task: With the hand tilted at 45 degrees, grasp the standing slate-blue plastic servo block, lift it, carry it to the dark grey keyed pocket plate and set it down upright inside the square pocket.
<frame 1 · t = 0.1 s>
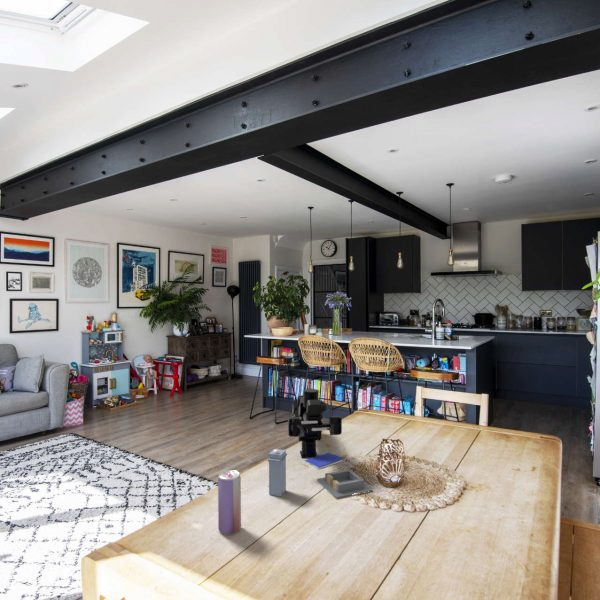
hand: (318, 434, 144), 17 cm above the table, tool horizontal, fingers open, 9 cm apart
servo: (277, 492, 138), on the table
beverage can: (229, 530, 116), on the table
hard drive: (323, 463, 163), on the table
chassis: (344, 485, 142), on the table
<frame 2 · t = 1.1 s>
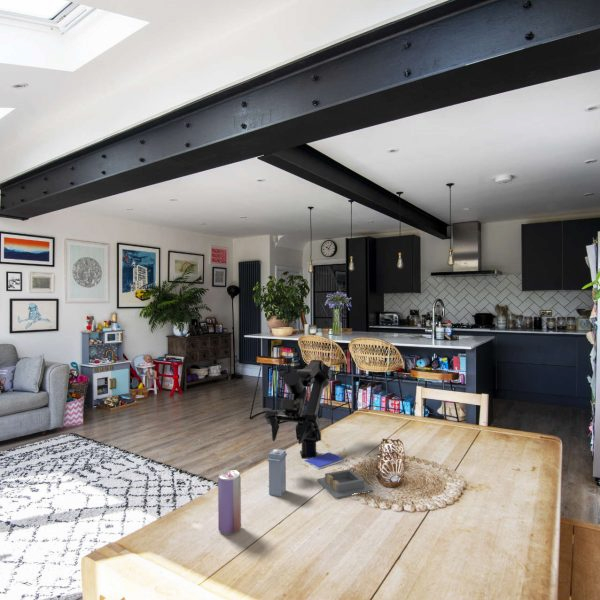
hand: (286, 442, 145), 13 cm above the table, tool tilted 45°, fingers open, 9 cm apart
nothing on the table moved.
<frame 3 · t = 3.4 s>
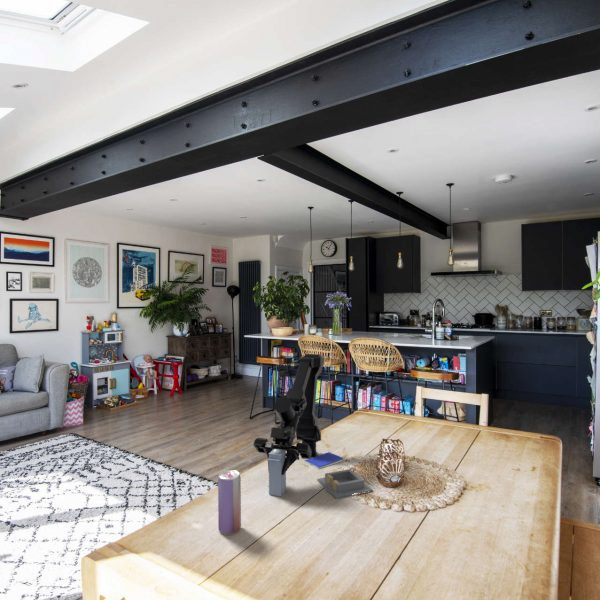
hand: (275, 473, 136), 7 cm above the table, tool tilted 45°, fingers closed on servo, 4 cm apart
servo: (277, 492, 138), on the table, touching gripper
everything else where it was.
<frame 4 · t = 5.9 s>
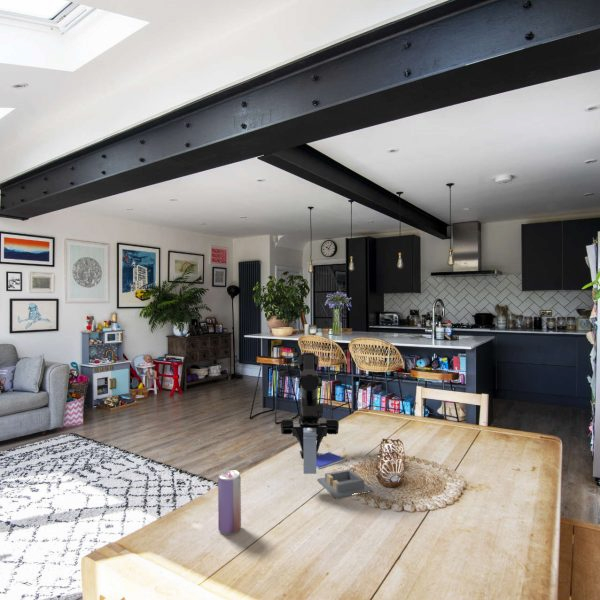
hand: (309, 451, 136), 13 cm above the table, tool tilted 45°, fingers closed on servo, 4 cm apart
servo: (309, 470, 138), point 7 cm above the table, touching gripper
everything else where it was.
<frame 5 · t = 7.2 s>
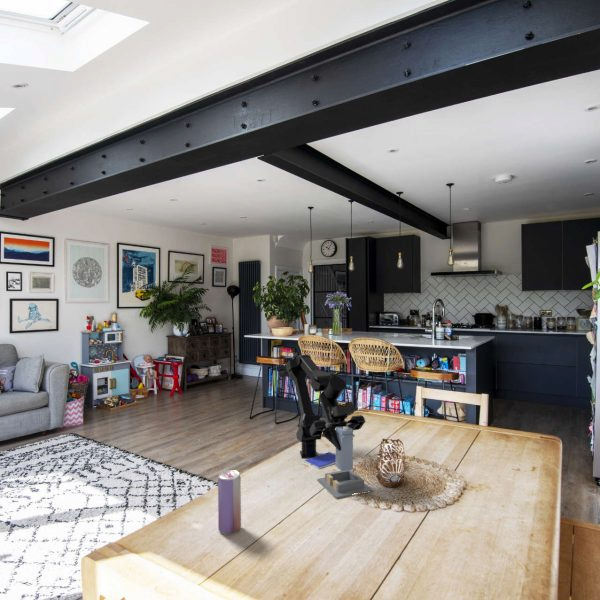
hand: (346, 449, 141), 13 cm above the table, tool tilted 45°, fingers closed on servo, 4 cm apart
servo: (344, 467, 142), point 6 cm above the table, touching gripper
everything else where it was.
when the fingers open (8 cm above the table, at t = 8.4 s): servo stays where it is, resting on chassis.
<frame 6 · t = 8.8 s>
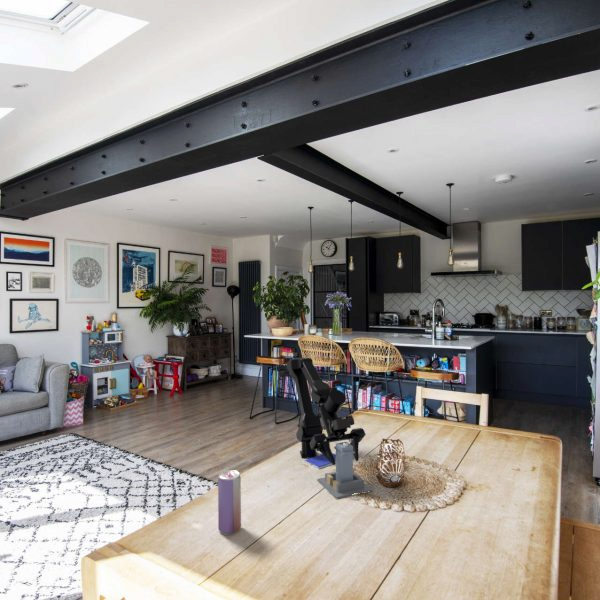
hand: (346, 462, 141), 8 cm above the table, tool tilted 45°, fingers open, 8 cm apart
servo: (344, 484, 142), point 1 cm above the table, touching chassis
everything else where it was.
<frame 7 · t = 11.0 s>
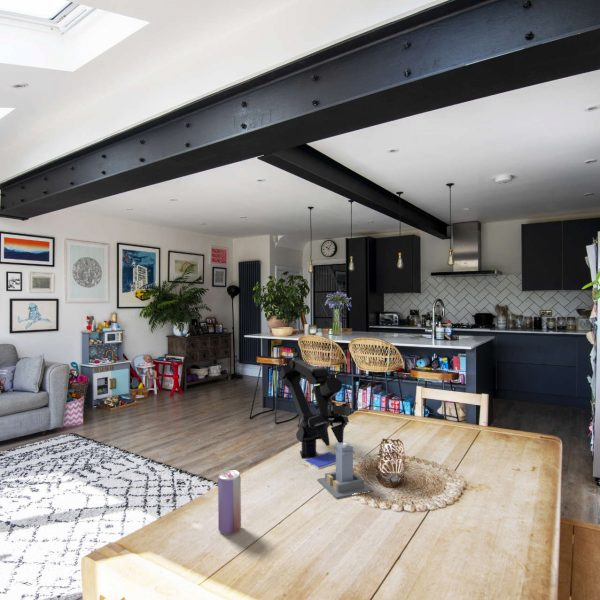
hand: (335, 445, 151), 10 cm above the table, tool tilted 30°, fingers open, 9 cm apart
nothing on the table moved.
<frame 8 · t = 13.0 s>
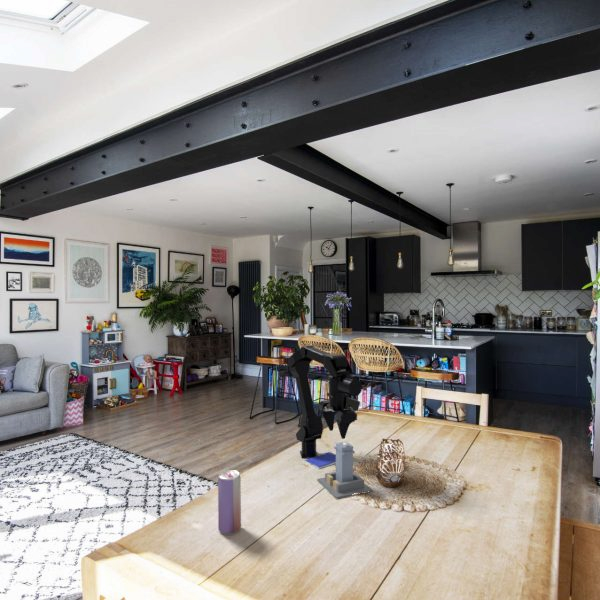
hand: (337, 434, 154), 13 cm above the table, tool pointing down, fingers open, 9 cm apart
nothing on the table moved.
at the end: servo 0.0 cm off-centre on the chassis, point 0.6 cm above the chassis's base; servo tilted 0°; the gripper is holding nothing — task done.
